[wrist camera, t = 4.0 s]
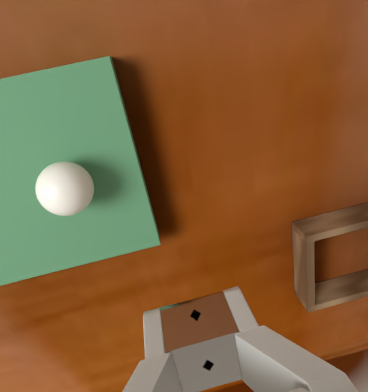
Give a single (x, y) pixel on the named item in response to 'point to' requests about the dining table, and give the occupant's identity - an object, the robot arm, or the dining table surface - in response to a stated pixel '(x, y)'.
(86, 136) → the putting strip
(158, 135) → the dining table surface
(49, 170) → the ball
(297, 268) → the wooden rectangular frame
